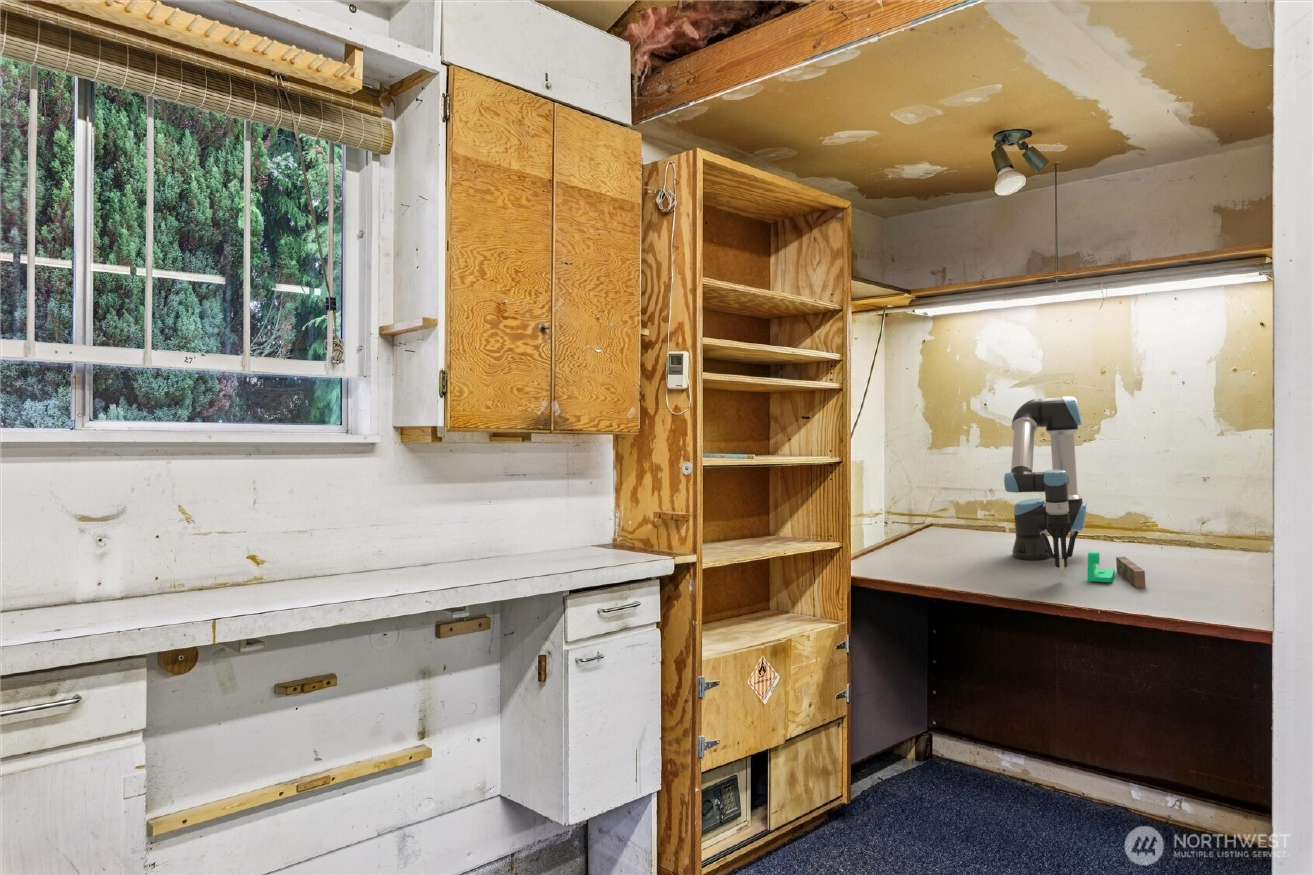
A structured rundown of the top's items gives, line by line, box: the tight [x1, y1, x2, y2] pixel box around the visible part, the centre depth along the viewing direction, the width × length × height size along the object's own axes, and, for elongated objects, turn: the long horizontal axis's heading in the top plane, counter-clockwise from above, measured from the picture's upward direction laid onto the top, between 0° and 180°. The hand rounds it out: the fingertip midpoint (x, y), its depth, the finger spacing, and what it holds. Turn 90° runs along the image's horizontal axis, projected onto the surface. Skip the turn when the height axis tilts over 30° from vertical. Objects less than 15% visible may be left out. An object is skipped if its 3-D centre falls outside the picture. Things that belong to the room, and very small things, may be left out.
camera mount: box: [1086, 551, 1115, 583], centre depth 302 cm, size 12×8×10 cm, turn 146°
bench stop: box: [1115, 556, 1146, 589], centre depth 298 cm, size 20×3×6 cm, turn 168°
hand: (1061, 575), depth 304 cm, fingers closed
